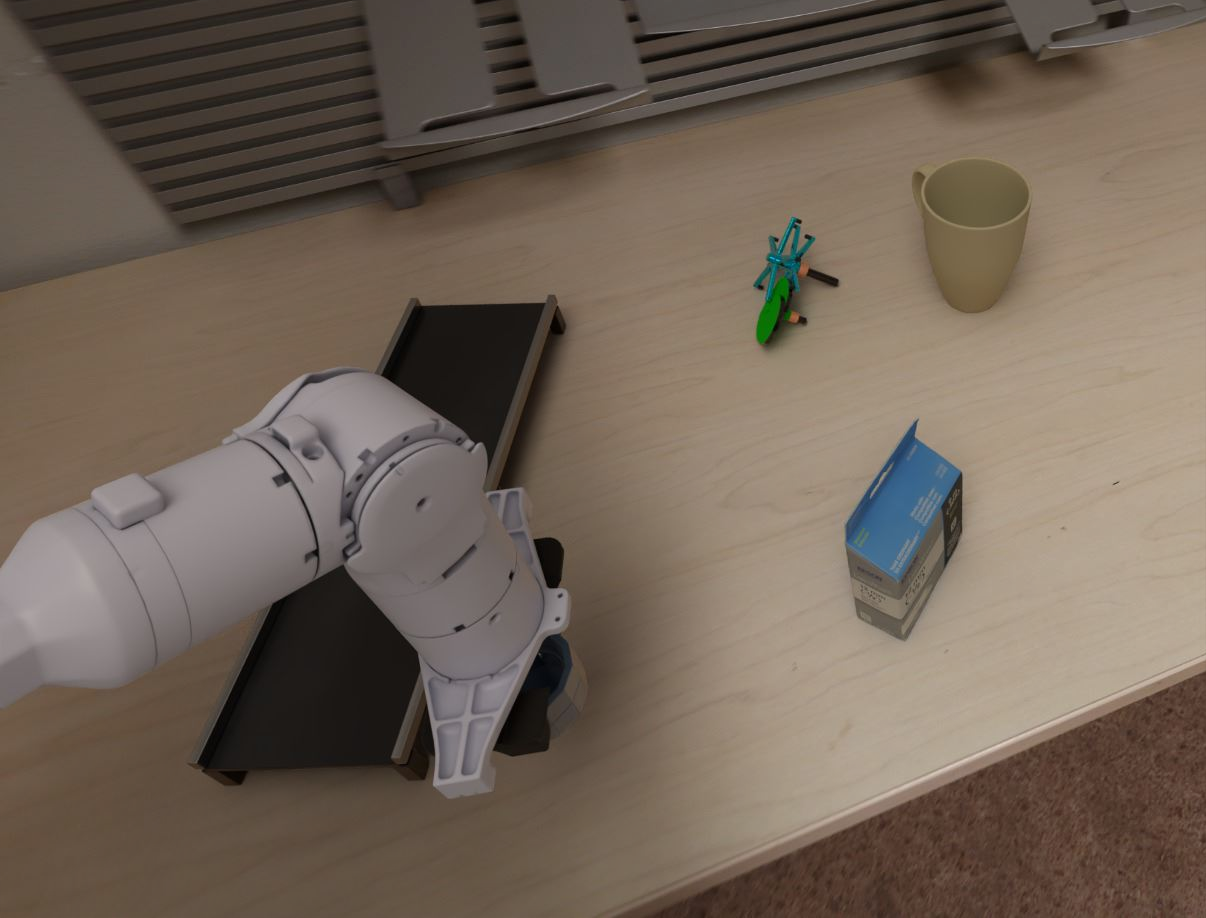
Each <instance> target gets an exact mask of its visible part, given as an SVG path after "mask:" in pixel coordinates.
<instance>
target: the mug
mask: <svg viewBox="0 0 1206 918" xmlns="http://www.w3.org/2000/svg"><path fill="white" fill-rule="evenodd" d="M911 187H912V188H911V189H912V194H913V199H914V202H915V205H916V207H917V210H918V212H919V214H920V216H921V218H922V222H923V234H924V243H925V248H926V253H927V258H928V261H929V264H930V267H931V269H932V272H933V274H934V276H935V278H936V280H937V282H938V284H939V287H940V289H941V293H942V294H943V296H944V299H945V300H946V302H947V304H948V305H950V306H951V307H952V308H954V309H956V310H958V311H960V312H964V313H969V314H970V313H971V314H973V313H974V314H975V313H981V312H985V311H987V310H989V309H990V308H991V307H993V306H994V305H995V303H996V302H997V301H998V299H999V297H1000V295H1001V294H1002V292H1003V290H1004V288H1005V287H1006V285H1007V283H1008V281H1009V280H1010V278H1011V276H1012V275H1013V273H1014V271H1015V269H1016V267H1017V265H1018V263H1019V260H1020V256H1021V253H1022V250H1023V246H1024V242H1025V236H1026V233H1027V226H1028V222H1029V218H1030V211H1031V207H1032V202H1033V189H1032V186H1031V183H1030V182H1029V180H1028V178H1027V177H1026V176H1025V175H1024V174H1023V173H1022V172H1021V171H1020V170H1019V169H1017V168H1016V167H1015V166H1012V165H1011V164H1009V163H1006V162H1004V161H1001V160H998V159H996V158H989V157H984V156H983V157H982V156H967V157H960V158H955V159H950V160H948V161H946V162H944V163H941V164H939V165H938V166H936V165H935V164H933V163H924V164H921V165H919V166H918V167H916V168H915V169H914V171H913V173H912V176H911Z"/></svg>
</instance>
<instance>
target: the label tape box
mask: <svg viewBox="0 0 1206 918" xmlns="http://www.w3.org/2000/svg"><path fill="white" fill-rule="evenodd" d="M919 421H920V418H916V419H914V420H913V421H912V422H911V424H910V425H909V426H908V428H907V429H906V430H905V431H904V433H903V435H902V436H901V437H900V439H899V440H898V442H897V443H896V445H895V446H894V448H893V449H892V451H891V452H890V453H889V455H888V457H886V460H885V461H884V462H883V464H882V465H881V467H880V468H879V470H878V471H877V472H876V474H875V476H874V477H873V479H872V480H871V482H870V483H869V485H868V486H867V488H866V489H865V491H864V492H863V494H862V495H861V497H860V499H859V500H858V501H857V503H856V505H855V506H854V508H853V510H851V512H850V514H849V515H848V517H847V519H845V522H844V546H845V547H844V548H845V552H846V558H847V559H846V560H847V566H848V571H849V576H850V584H851V589H852V594H853V599H854V605H855V611H856V617H857V618H858V619H860V620H862V621H864V622H866V623H867V624H870V626H874V627H875V628H878V629H880V630H881V631H884V632H885V633H887V634H889V635H892V636H893V637H895V638H897V639H899V640H900V641H904V642H905V641H906V640H907V638H908V637H909V634H910V633H911V631H912V630H913V628H914V626H915V624H916V622H917V621H918V618H919V617H920V615H921V613H922V612H923V609H924V607H925V606H926V605H927V602H928V600H929V598H930V596H931V594H932V592H933V591H934V588H935V587H936V585H937V583H938V581H939V579H940V578H941V575H942V573H943V571H944V570H945V568H946V566H947V565H948V562H949V561H950V559H951V557H952V555H953V553H954V551H956V549H957V546H958V545H959V542H960V540H961V539H962V536H963V478H964V477H963V471H962V470H961V469H959V468H958V467H956V466H955V465H954V464H952V463H951V462H950V461H948V459H946V458H944V457H943V456H942V455H940V454H939V453H938V452H937V451H935V450H934V449H932V448H931V447H929V446H928V445H927V444H925V443H924V442H922V441H921V440H920V439H918V438H917V437H916V432H917V428H918V422H919ZM884 474H885V475H884ZM883 475H884V476H883ZM882 477H883V478H882ZM881 478H882V479H881ZM880 480H881V481H880ZM874 490H875V491H874Z"/></svg>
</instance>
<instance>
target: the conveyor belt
mask: <svg viewBox="0 0 1206 918" xmlns="http://www.w3.org/2000/svg"><path fill="white" fill-rule="evenodd" d="M558 304H559V301H558V299H557V296H556V294H548V295H547V297H546V301H545V302H517V303H515V302H514V303H513V302H512V303H474V304H470V303H469V304H437V305H436V304H435V305H434V304H433V305H432V304H431V305H422V303H421V301H420V299H419V298H418V297H411V298H410V299H409V302H408V303H407V306H406V307H405V310H404V312H403V314H402V316H401V318H400V320H399V322H398V324H397V326H396V328H395V330H394V332H393V334H392V337H391V338H390V340H389V343H388V345H387V347H386V349H385V351H384V353H383V355H382V357H381V359H380V362H379V363H378V365H377V368H376V370H375V372H374V373H375V374H377V375H380V376H382V377H384V378H386V379H388V380H389V381H390V382H392V383H393V384H395V385H396V386H398V387H399V388H401V389H402V390H403V391H405V392H406V393H408V394H409V395H411V396H412V397H414V398H415V399H417V400H418V401H420V402H421V403H423V404H424V405H426V406H427V407H429V408H430V409H432V410H433V411H435V412H436V413H438V414H439V415H441V416H442V417H444V418H445V419H447V420H448V421H450V422H451V423H452V424H454V425H455V426H457V427H458V428H460V429H461V430H463V431H464V432H465V433H466V434H467V436H468V437H469V438H470V440H471V441H473V442H474V443H475V446H476V444H478V443H483V444H484V446H485V449H486V453H487V463H488V464H487V474H486V479H485V482H484V486H483V489H482V490H483V492H484V493H485V494H486V492H490V491H497V490H502V488H501V486H500V484H499V483H500V480H501V477H502V474H503V471H504V468H505V465H506V462H507V459H508V456H509V453H510V449H511V446H512V443H513V440H514V438H515V437H514V436H516V432H517V429H518V425H519V422H520V419H521V416H522V414H523V410H524V407H525V404H526V401H527V398H528V395H529V393H530V388H531V386H532V383H533V380H534V377H535V374H536V371H537V367H538V365H539V361H540V359H541V356H542V352H543V349H544V347H545V343H546V340H547V337H548V335H549V331H550V332H551V334H552V335H563V334H564V333H565V331H566V327H567V324H566V321H565V318H564V316H563V314H562V311H561V308H560V306H559V305H558ZM258 612H259V613H258V615H257V617H256V619H255V621H254V623H253V625H252V627H251V629H250V631H249V633H248V635H247V637H246V639H245V642H244V644H243V645H242V648H241V650H240V651H239V654H238V655H237V658H236V660H235V662H234V664H233V666H232V669H231V670H230V673H229V675H228V677H227V679H226V681H225V683H224V685H223V687H222V689H221V691H220V694H219V695H218V698H217V700H216V702H215V704H214V706H213V708H212V710H211V712H210V714H209V716H208V719H207V720H206V723H205V725H204V726H203V729H202V731H201V732H200V735H199V737H198V739H197V741H196V743H195V745H194V747H193V749H192V751H191V754H190V756H189V758H188V760H187V762H186V764H187V765H188V766H190V767H192V768H193V769H195V770H201V773H203V774H204V775H206V776H207V777H210V778H211V779H213V780H214V781H216V782H218V783H219V784H221V785H223V786H224V787H225V786H228V787H229V786H241V785H242V783H243V781H244V778H245V775H246V774H247V771H274V770H275V771H277V770H278V771H279V770H281V771H282V770H315V769H316V770H317V769H318V770H319V769H320V770H321V769H354V768H355V769H357V768H358V769H359V768H360V769H361V768H392V769H394V770H395V771H396V772H397V773H398V774H400V775H401V776H402V777H403V778H404V779H405V780H407V781H408V782H413V781H415V782H417V781H418V782H419V781H425V779H426V775H427V771H428V768H429V765H430V762H429V761H428V760H427V759H426V758H424V756H422V754H421V753H420V752H418V751H417V750H416V749H415V748H413V746H414V743H415V740H416V737H417V733H418V730H419V727H420V724H421V721H422V718H423V715H424V712H425V708H426V707H427V706H426V705H427V700H426V694H425V689H424V683H423V678H422V672H421V667H420V661H419V656H418V652H417V651H416V650H415V648H414V647H413V646H412V645H411V644H410V643H409V642H408V641H407V639H406V638H405V637H404V636H403V635H402V634H401V633H400V631H399V630H398V629H397V628H396V627H395V626H394V625H393V623H392V622H391V621H390V620H389V619H388V618H387V617H386V616H385V614H384V613H383V612H382V611H381V610H380V609H379V608H378V607H377V605H376V604H375V603H374V602H373V601H372V600H371V599H370V598H369V596H368V595H367V594H366V593H365V592H364V591H363V590H362V589H361V588H360V586H359V585H358V584H357V583H356V582H355V581H354V580H353V579H352V577H351V576H350V575H349V573H348V572H347V570H346V568H345V566H344V564H343V565H341V566H339V567H337V568H335V569H334V570H332V571H330V572H328V573H326V574H324V575H323V576H321V577H319V578H317V579H316V580H314V581H312V582H310V583H308V584H307V585H305V586H303V587H301V588H299V589H298V590H296V591H294V592H292V593H291V594H289V595H287V596H285V597H283V598H282V599H280V600H278V601H276V602H274V603H273V604H271V605H269V606H267V607H265V608H264V609H262V610H260V611H258Z"/></svg>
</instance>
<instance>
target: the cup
mask: <svg viewBox="0 0 1206 918" xmlns="http://www.w3.org/2000/svg"><path fill="white" fill-rule="evenodd" d="M588 684H589V683H588V679H587V675H586V669H585V667H584V665H583V664H582V662H581V661H580V659H579V657H578V655H577V653H576V652H575V650H574V648H573V647H572V645H571V644H570V642H569V641H568V640H567V639H566V638H565V637H563V636H562V635H560V634H553V635H549V636H547V637H546V638H545V639H544V640H543V642H542V644H541V646H540V648H539V650H538V653H537V655H536V657H535V659H534V661H533V663H532V665H531V668H530V670H529V672H528V674H527V676H526V678H525V680H524V682H523V685H522V687H521V689H520V691H519V692H522V691H528V690H534V689H540V688H547V687H550V691H549V700H548V709H547V718H546V720H547V722H548V725H549V727H550V732H551V733H550V741H552V740H554V739H556V738H559V737H561V735H563V734H564V733H565V732H566V731H567V729H568V728H569V727H570V726H572V724H573V723H574V722H575V721H576V720H577V718H579V716H580V714H581V712H582V710H583V708H584V707H583V706H584V704H585V702H586V698H587V695H588V692H589V685H588Z"/></svg>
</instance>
